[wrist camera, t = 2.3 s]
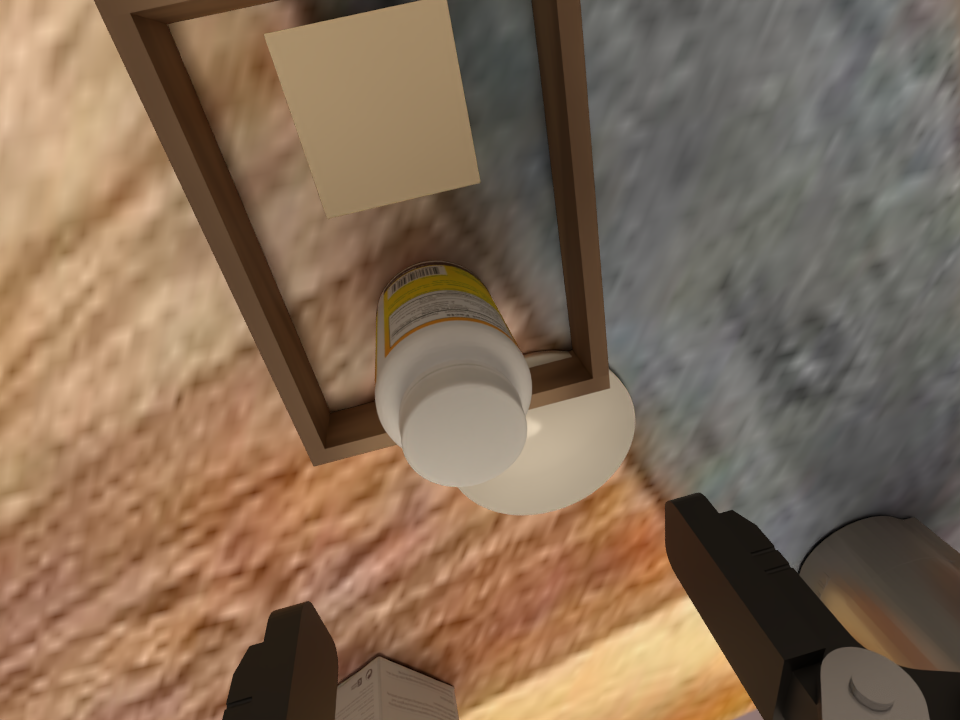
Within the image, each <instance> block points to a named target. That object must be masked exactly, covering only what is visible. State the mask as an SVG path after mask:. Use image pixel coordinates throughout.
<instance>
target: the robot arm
mask: <svg viewBox="0 0 960 720" xmlns="http://www.w3.org/2000/svg"><path fill="white" fill-rule="evenodd" d="M665 546H666V552H667V556H668V559H669V562H670V564H671V566H672V569H673V571H674V573H675V574H676V576H677V578H678V579H679V581H680V583H681V584H682V586H683V588H684V589H685V591H686V593H687V594H688V596H689V598H690V599H691V601H692V602H693V604H694V606H695V607H696V609H697V611H698V612H699V614H700V616H701V617H702V619H703V621H704V622H705V624H706V625H707V627H708V629H709V630H710V632H711V634H712V635H713V637H714V639H715V640H716V642H717V644H718V645H719V647H720V648H721V650H722V652H723V653H724V655H725V657H726V658H727V660H728V662H729V663H730V665H731V667H732V668H733V670H734V671H735V673H736V675H737V676H738V678H739V680H740V681H741V683H742V685H743V686H744V688H745V690H746V691H747V693H748V694H749V696H750V698H751V699H752V701H753V703H754V704H755V706H756V708H757V709H758V711H759V713H760V714H761V716H762V717H763V719H764V720H960V553H958V552H957V551H956V550H955V549H953V548H952V547H951V546H950V545H948V544H947V543H946V542H945V541H943V540H942V539H941V538H940V537H939V536H937V535H936V534H935V533H934V532H932V531H931V530H930V529H929V528H927V527H926V526H925V525H924V524H922V523H921V522H920V521H919V520H917V519H916V518H915V517H913V518H909V519H904V520H901V519H898V518H895V517H892V516H876V517H870V518H866V519H862V520H859V521H856V522H854V523H852V524H849V525H847V526H845V527H843V528H842V529H840V530H838V531H836V532H835V533H833V534H832V535H830V536H829V537H828V538H826V539H825V540H824V541H823V542H821V543H820V544H819V545H818V546H817V547H816V548H815V549H814V550H813V551H812V553H811V554H810V555H809V556H808V557H807V559H806V561H805V562H804V564H803V566H802V568H801V571H800V574H798V573H797V572H796V571H795V570H794V568H791V567H790V565H789V563H788V561H787V560H786V559H785V558H784V557H783V556H782V554H781V553H780V552H779V551H778V550H775V548H774V545H773V544H772V543H771V542H770V541H769V539H768V538H767V537H766V536H765V535H764V534H763V532H762V531H761V530H760V529H759V528H758V527H757V525H755V524H754V523H752V522H750V521H749V520H747V519H746V518H744V517H742V516H741V515H739V514H738V513H736V512H735V511H733V510H730V511H726V512H723V513H718V512H717V510H716V509H715V508H714V507H713V505H712V504H711V503H710V502H709V500H708V499H707V498H706V497H705V496H704V495H703V494H701V493H694V494H691V495H687V496H684V497H680V498H677V499H673V500H670V501H667V502H666V504H665ZM337 681H338V657H337V651H336V647H335V644H334V641H333V639H332V637H331V635H330V634H329V632H328V630H327V628H326V627H325V625H324V623H323V622H322V620H321V618H320V616H319V615H318V613H317V611H316V610H315V608H314V606H313V605H312V603H311V602H309V601H307V602H303V603H300V604H296V605H293V606H289V607H286V608H282V609H278V610H275V611H273V612H272V613H271V614H270V616H269V619H268V623H267V628H266V633H265V637H264V642H262V643H259V644H255V645H252V646H249V648H248V650H247V652H246V653H245V655H244V657H243V659H242V660H241V662H240V664H239V666H238V667H237V669H236V671H235V673H234V674H233V678H232V682H231V686H230V690H229V695H228V699H227V703H226V705H227V709H226V710H225V711H224V715H223V719H222V720H335V711H336V696H337Z"/></svg>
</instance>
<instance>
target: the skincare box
mask: <svg viewBox="0 0 960 720" xmlns="http://www.w3.org/2000/svg"><path fill="white" fill-rule="evenodd" d="M335 720H459V717H458V710H457V704H456V698H455V691H454V687H452V686H450V685H447V684H445V683H442V682H440V681H437V680H435V679H433V678H430V677H428V676H425V675H423V674H421V673H418V672H416V671H413V670H411V669H408V668H406V667H404V666H401V665H399V664H396V663H394V662H391V661H389V660H387V659H384V658H382V657H377V658H375V659H374V660H372V661H371V662H370V663H369V664H368V665H367V666H365V667H364V668H363V669H361V670H360V671H359V672H357V673H356V674H355V675H353V676H352V677H350V678H349V679H347V680H346V681H344V682H343V683H342V684H340V685H339V686H338V687H337V696H336V711H335Z"/></svg>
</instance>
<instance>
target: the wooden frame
mask: <svg viewBox="0 0 960 720" xmlns="http://www.w3.org/2000/svg"><path fill="white" fill-rule="evenodd" d="M94 1H95V4H96V6H97V8H98V10H99V12H100V14H101V16H102V18H103V21H104V23H105V25H106V27H107V29H108V31H109V33H110V35H111V38H112V40H113V42H114V44H115V46H116V48H117V50H118V52H119V54H120V57H121V59H122V61H123V63H124V65H125V67H126V69H127V71H128V74H129V76H130V78H131V80H132V82H133V84H134V86H135V88H136V91H137V93H138V95H139V97H140V99H141V101H142V103H143V105H144V108H145V110H146V112H147V114H148V116H149V118H150V120H151V122H152V124H153V127H154V129H155V131H156V133H157V135H158V137H159V139H160V141H161V144H162V146H163V148H164V150H165V152H166V154H167V156H168V158H169V161H170V163H171V165H172V167H173V169H174V171H175V173H176V175H177V178H178V180H179V182H180V184H181V186H182V188H183V190H184V192H185V194H186V197H187V199H188V201H189V203H190V205H191V207H192V209H193V211H194V214H195V216H196V218H197V220H198V222H199V224H200V226H201V228H202V231H203V233H204V235H205V237H206V239H207V241H208V243H209V245H210V247H211V250H212V252H213V254H214V256H215V258H216V260H217V262H218V264H219V267H220V269H221V271H222V273H223V275H224V277H225V279H226V281H227V284H228V286H229V288H230V290H231V292H232V294H233V296H234V298H235V301H236V303H237V305H238V307H239V309H240V311H241V313H242V315H243V317H244V320H245V322H246V324H247V326H248V328H249V330H250V332H251V334H252V337H253V339H254V341H255V343H256V345H257V347H258V349H259V351H260V354H261V356H262V358H263V360H264V362H265V364H266V366H267V368H268V371H269V373H270V375H271V377H272V379H273V381H274V383H275V385H276V387H277V390H278V392H279V394H280V396H281V398H282V400H283V402H284V404H285V407H286V409H287V411H288V413H289V415H290V417H291V419H292V421H293V424H294V426H295V428H296V430H297V432H298V434H299V436H300V438H301V440H302V443H303V445H304V447H305V449H306V451H307V453H308V455H309V457H310V460H311V462H312V464H313V466H318V465H322V464H325V463H329V462H333V461H337V460H341V459H344V458H348V457H352V456H356V455H359V454H363V453H367V452H371V451H375V450H378V449H382V448H386V447H390V446H394V445H397V444H396V443H395V442H394V441H393V440H392V439H391V438H390V436H389V435H388V434H387V432H386V431H385V429H384V428H383V426H382V424H381V422H380V419H379V416H378V413H377V409H376V403H375V402H371V403H367V404H364V405H360V406H356V407H352V408H348V409H344V410H340V411H336V412H333V413H330V411H329V408H328V406H327V404H326V401H325V399H324V397H323V394H322V392H321V389H320V387H319V385H318V382H317V380H316V378H315V375H314V373H313V370H312V368H311V366H310V363H309V361H308V359H307V356H306V354H305V351H304V349H303V347H302V344H301V342H300V340H299V337H298V335H297V332H296V330H295V328H294V325H293V323H292V320H291V318H290V316H289V313H288V311H287V309H286V306H285V304H284V301H283V299H282V297H281V294H280V292H279V290H278V287H277V285H276V282H275V280H274V278H273V275H272V273H271V271H270V268H269V266H268V263H267V261H266V259H265V256H264V254H263V252H262V249H261V247H260V244H259V242H258V240H257V237H256V235H255V233H254V230H253V228H252V225H251V223H250V221H249V218H248V216H247V213H246V211H245V209H244V206H243V204H242V202H241V199H240V197H239V194H238V192H237V190H236V187H235V185H234V183H233V180H232V178H231V175H230V173H229V171H228V168H227V166H226V164H225V161H224V159H223V156H222V154H221V152H220V149H219V147H218V145H217V142H216V140H215V137H214V135H213V133H212V130H211V128H210V125H209V123H208V121H207V118H206V116H205V114H204V111H203V109H202V106H201V104H200V102H199V99H198V97H197V95H196V92H195V90H194V87H193V85H192V83H191V80H190V78H189V76H188V73H187V71H186V68H185V66H184V64H183V61H182V59H181V57H180V54H179V52H178V49H177V47H176V45H175V42H174V40H173V38H172V35H171V33H170V30H169V28H168V26H167V24H170V23H174V22H179V21H184V20H189V19H193V18H198V17H203V16H207V15H212V14H217V13H222V12H226V11H231V10H236V9H240V8H245V7H250V6H255V5H259V4H264V3H269V2H274V1H278V0H94ZM532 8H533V16H534V25H535V33H536V42H537V50H538V59H539V67H540V76H541V85H542V93H543V102H544V110H545V119H546V127H547V136H548V145H549V153H550V162H551V170H552V179H553V187H554V196H555V204H556V213H557V222H558V230H559V239H560V247H561V256H562V264H563V273H564V282H565V290H566V299H567V307H568V316H569V324H570V333H571V342H572V351H569V353H570V355H571V356H572V357H569V358H565V359H562V360H558V361H554V362H550V363H546V364H542V365H538V366H535V367H531V368H529V370H530V374H531V379H532V397H531V402H530V406H529V409H528V410H530V409H534V408H538V407H541V406H545V405H549V404H553V403H557V402H560V401H564V400H568V399H572V398H576V397H579V396H583V395H587V394H591V393H594V392H598V391H602V390H606V389H610V379H609V366H608V353H607V340H606V327H605V314H604V301H603V288H602V276H601V263H600V250H599V237H598V224H597V211H596V198H595V185H594V172H593V159H592V146H591V134H590V121H589V108H588V95H587V82H586V69H585V56H584V43H583V30H582V17H581V4H580V0H532Z"/></svg>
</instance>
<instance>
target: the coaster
mask: <svg viewBox="0 0 960 720" xmlns="http://www.w3.org/2000/svg"><path fill="white" fill-rule="evenodd" d="M523 356H524V358H525V360H526V362H527V365H528V367H529V368H531V367H535V366H538V365H542V364H546V363H550V362H554V361H558V360H562V359H565V358H569V357H572V356H571V355H570V353H569V352H568V351H554V350H551V351H539V352H534V353H529V354H524V355H523ZM609 379H610V389H606V390H602V391H598V392H594V393H591V394H587V395H583V396H579V397H576V398H572V399H568V400H564V401H560V402H557V403H553V404H549V405H545V406H541V407H538V408H534V409H530V410H528V412H527V414H526V421H527V438H526V442H525V445H524V447H523V450H522V452H521V454H520V455H519V457H518V458H517V459H516V461H515V462H514V463H513V464H512V465H511V466H510V467H509V468H508V469H507V470H506V471H504V472H503V473H501V474H500V475H498V476H497V477H495V478H493V479H491V480H489V481H486V482H484V483H481V484H477V485H473V486H467V487H458V488H459V489H460V490H461V491H462V493H463V494H465V495H466V496H467V497H468V498H469V499H470V500H472V501H473V502H475V503H477V504H478V505H480V506H482V507H484V508H487V509H489V510H492V511H495V512H499V513H504V514H510V515H535V514H543V513H547V512H552V511H556V510H559V509H562V508H565V507H567V506H569V505H572V504H574V503H576V502H578V501H580V500H582V499H584V498H585V497H587V496H588V495H590V494H591V493H593V492H594V491H596V490H597V489H598V488H599V487H601V486H602V485H603V484H604V483H605V482H606V481H607V480H608V479H609V478H610V477H611V476H612V475H613V474H614V473H615V472H616V470H617V469H618V468H619V466H620V465H621V463H622V462H623V460H624V459H625V457H626V455H627V453H628V451H629V448H630V446H631V443H632V440H633V436H634V430H635V412H634V406H633V403H632V400H631V397H630V395H629V393H628V391H627V389H626V388H625V386H624V385H623V384H622V382H621V381H620V380H619V379H618V377H617V376H616V375H615V374H614V373H613V372H612V371H611V370H610V369H609Z"/></svg>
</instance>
